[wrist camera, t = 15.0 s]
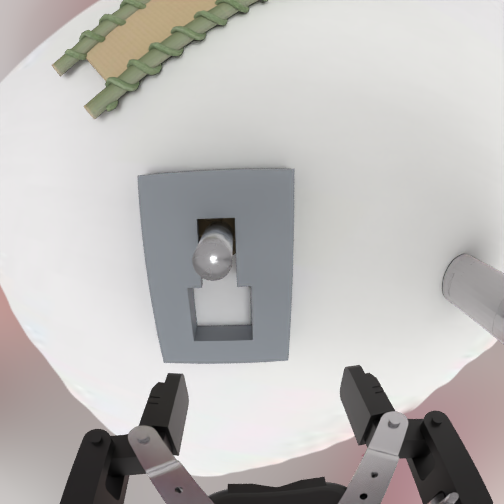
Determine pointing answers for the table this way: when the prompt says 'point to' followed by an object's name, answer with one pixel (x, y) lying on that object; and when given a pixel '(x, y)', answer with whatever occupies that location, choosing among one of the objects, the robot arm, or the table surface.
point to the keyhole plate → (247, 260)
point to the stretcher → (143, 41)
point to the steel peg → (214, 248)
